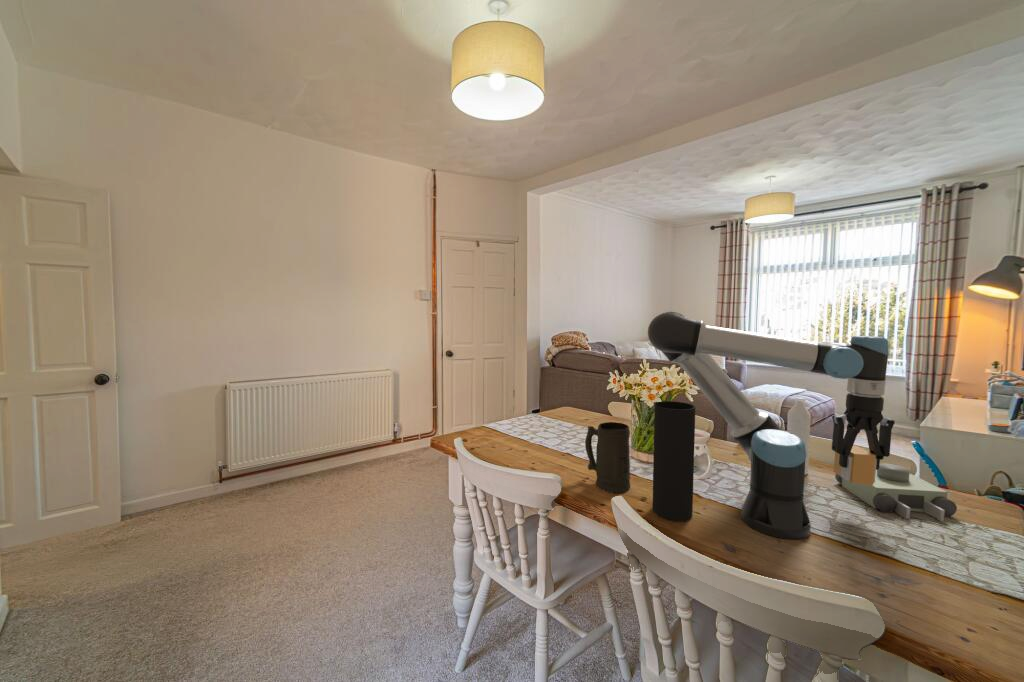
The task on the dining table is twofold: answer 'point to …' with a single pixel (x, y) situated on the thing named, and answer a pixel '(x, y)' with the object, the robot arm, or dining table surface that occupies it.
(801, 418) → the water bottle
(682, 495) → the vase
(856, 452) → the orange block
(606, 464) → the beer stein
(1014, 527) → the dining table surface
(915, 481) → the mower deck
